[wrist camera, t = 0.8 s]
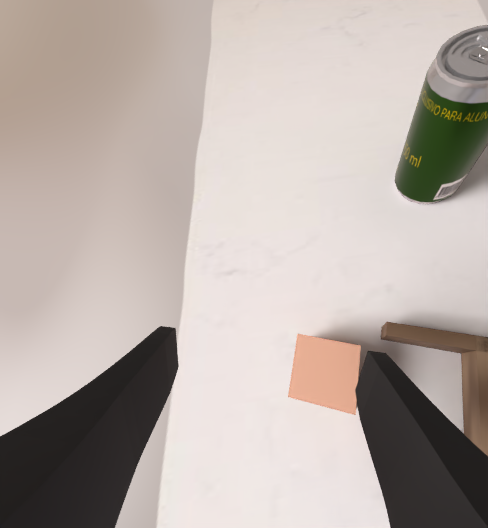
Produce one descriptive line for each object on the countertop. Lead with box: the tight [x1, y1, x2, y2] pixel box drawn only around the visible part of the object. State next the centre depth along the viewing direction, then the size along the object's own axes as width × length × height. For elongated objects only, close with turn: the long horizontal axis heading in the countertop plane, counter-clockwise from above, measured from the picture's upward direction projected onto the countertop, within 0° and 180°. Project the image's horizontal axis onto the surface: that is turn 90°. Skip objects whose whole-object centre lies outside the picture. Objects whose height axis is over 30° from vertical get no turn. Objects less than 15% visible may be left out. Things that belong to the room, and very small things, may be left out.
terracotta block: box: [288, 334, 361, 415], centre depth 21 cm, size 4×4×4 cm
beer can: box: [395, 25, 488, 204], centre depth 21 cm, size 5×5×12 cm
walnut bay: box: [381, 322, 488, 456], centre depth 19 cm, size 9×6×2 cm
